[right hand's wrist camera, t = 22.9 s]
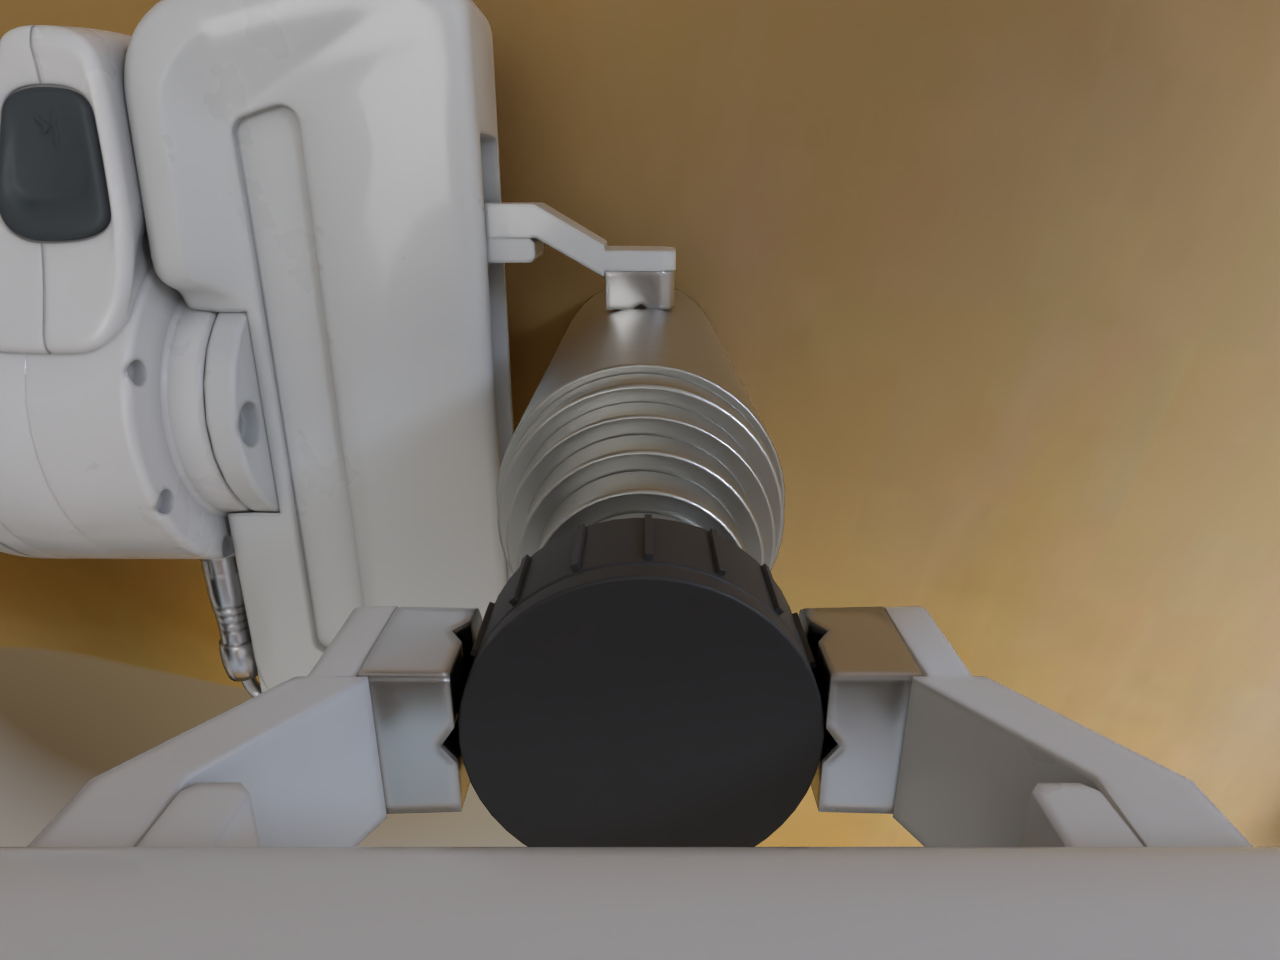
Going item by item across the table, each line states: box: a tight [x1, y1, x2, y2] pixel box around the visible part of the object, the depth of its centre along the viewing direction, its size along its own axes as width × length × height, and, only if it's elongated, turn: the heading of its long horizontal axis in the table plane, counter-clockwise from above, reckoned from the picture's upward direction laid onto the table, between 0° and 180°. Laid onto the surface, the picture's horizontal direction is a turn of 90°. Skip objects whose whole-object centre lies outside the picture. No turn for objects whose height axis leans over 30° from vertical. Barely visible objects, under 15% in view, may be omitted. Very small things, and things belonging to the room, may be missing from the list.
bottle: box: [497, 289, 785, 574], centre depth 18 cm, size 5×5×19 cm
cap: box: [458, 514, 824, 847], centre depth 9 cm, size 4×4×2 cm
